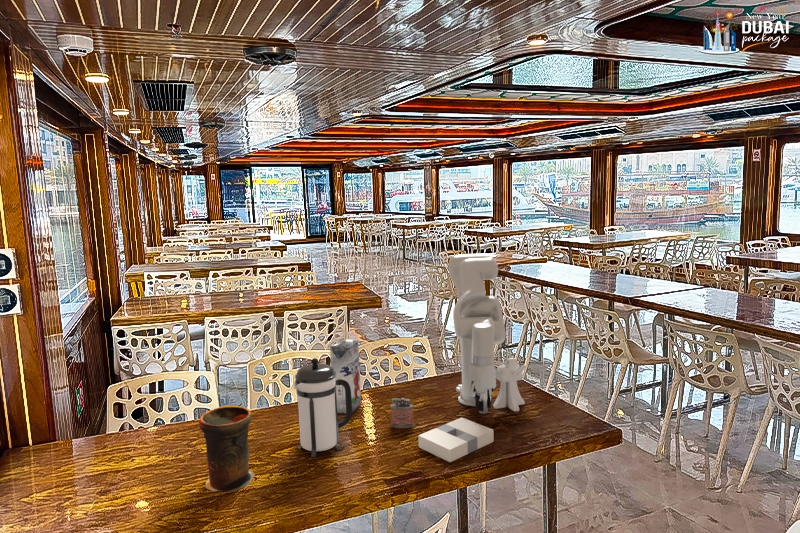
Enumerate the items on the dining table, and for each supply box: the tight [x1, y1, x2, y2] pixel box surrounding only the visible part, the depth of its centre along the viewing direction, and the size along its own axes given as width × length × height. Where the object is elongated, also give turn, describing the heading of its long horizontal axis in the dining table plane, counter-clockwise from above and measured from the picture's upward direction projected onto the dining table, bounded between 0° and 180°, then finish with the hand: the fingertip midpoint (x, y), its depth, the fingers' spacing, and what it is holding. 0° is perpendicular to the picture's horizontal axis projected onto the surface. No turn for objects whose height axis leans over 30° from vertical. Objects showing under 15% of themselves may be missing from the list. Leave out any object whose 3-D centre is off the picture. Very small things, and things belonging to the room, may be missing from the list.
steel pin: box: [478, 388, 489, 415], centre depth 199 cm, size 4×4×10 cm
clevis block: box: [417, 416, 495, 463], centre depth 183 cm, size 20×14×4 cm
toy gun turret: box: [492, 357, 527, 412], centre depth 212 cm, size 12×13×18 cm
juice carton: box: [329, 339, 362, 414], centre depth 213 cm, size 9×10×27 cm
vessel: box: [198, 405, 256, 493], centre depth 164 cm, size 14×14×20 cm
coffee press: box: [293, 357, 353, 460], centre depth 182 cm, size 17×16×30 cm
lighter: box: [389, 397, 415, 429], centre depth 198 cm, size 8×3×10 cm, turn 84°
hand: (483, 408), depth 200 cm, fingers closed on steel pin, 3 cm apart
